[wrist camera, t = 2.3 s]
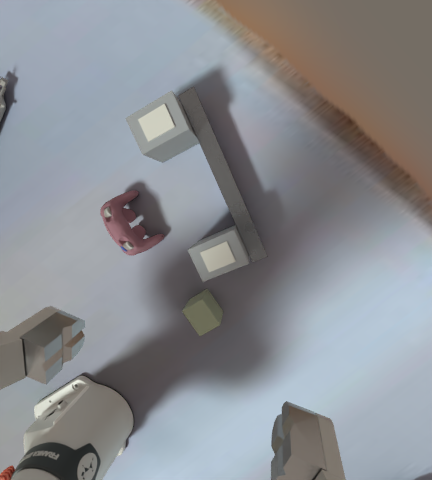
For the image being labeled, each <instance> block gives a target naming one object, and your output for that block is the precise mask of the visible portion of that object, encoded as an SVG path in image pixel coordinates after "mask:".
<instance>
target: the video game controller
mask: <svg viewBox="0 0 432 480" xmlns="http://www.w3.org/2000/svg"><path fill="white" fill-rule="evenodd" d="M138 194H139V192H138V191H136V190H134V191H129V192H126V193H124V194H121V195H119V196H117V197H115V198H113V199H111V200H110V201H108V202H106V203H105V204H104V205H103V206H102V208H101V216H102V217H103V221H104V224H105V226H106V229H107V231H108V232H109V234H110V236H111V237H112V238H113V240H114V241H115V242H116V243H117V244H118V245H119V246H120V247H121V249H122V250H123V252H124V253H126V254H127V255H136V254H138V253H141V252H144V251H146V250H148V249H150V248H152V247H153V246H155V245H156V244H158V243H159V242H161V241H162V240H163V238H164V234H158V235H155V236H152V237H150V238H147V239H143V238H144V236H145V234H146V231H145V229H144V228H143V227H142V226H140V225H136V226H135V227H133V228H132V229H131V227H130V225H129V223H131V222H132V221H134V220H135V219H136V215H135V213H134V211H133V210H131V209H126V208H124V206H125V205H126V204H127V203H128V202H130V201H131V200H133V199H134V198H135V197H137V195H138Z"/></svg>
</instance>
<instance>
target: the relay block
mask: <svg viewBox="0 0 432 480" xmlns="http://www.w3.org/2000/svg"><path fill="white" fill-rule="evenodd" d="M182 312H183V314H184V315H185V316H186V318H187V319H188V321H189V322H190V323H191V325H192V326H193V328H194V329H195V330H196V332H197V333H198V335H199V336H202V335H203V334H205V333H207V332H209V331H210V330H212V329H214V328H216V327H218V326H219V325H220V324H221V320H222V316H223V310H222V309H221V308H220V306H219V305H218V303H217V302H216V300H215V299H214V297H213V296H212V295H211V293H210V292H209V290H208V289H206V290H204V291H202V292H201V293H199V294H198V295H196V296H194V297H193V298H191V299H189V301H188V302H187V304H186V306H185V307H184V309H183V311H182Z"/></svg>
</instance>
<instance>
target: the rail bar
mask: <svg viewBox="0 0 432 480" xmlns="http://www.w3.org/2000/svg"><path fill="white" fill-rule="evenodd" d="M179 98H180V100H181V102H182V105H183V107H184V109H185V111H186V114H187V116H188V118H189V120H190V123H191V125H192V127H193V129H194V132H195V134H196V136H197V138H198V141H199V143H200V145H201V147H202V150H203V152H204V154H205V156H206V159H207V161H208V163H209V165H210V168H211V170H212V172H213V174H214V177H215V179H216V181H217V183H218V186H219V188H220V190H221V193H222V195H223V197H224V199H225V202H226V204H227V206H228V208H229V211H230V213H231V215H232V217H233V220H234V222H235V224H236V226H237V229H238V231H239V233H240V235H241V238H242V240H243V242H244V244H245V247H246V249H247V251H248V253H249V256H250V258H251V260H252V262H255V261H258V260H260V259H263V258H265V257H268V256H267V254H266V252H265V249H264V247H263V245H262V242H261V240H260V238H259V235H258V233H257V231H256V229H255V226H254V224H253V222H252V219H251V217H250V215H249V213H248V210H247V208H246V206H245V203H244V201H243V199H242V196H241V194H240V192H239V190H238V187H237V185H236V183H235V180H234V178H233V176H232V173H231V171H230V169H229V167H228V164H227V162H226V160H225V157H224V155H223V153H222V150H221V148H220V146H219V144H218V141H217V139H216V137H215V134H214V132H213V130H212V128H211V125H210V123H209V121H208V118H207V116H206V114H205V111H204V109H203V107H202V105H201V102H200V100H199V98H198V95H197V93H196V91H195V88H194V87H193V88H191V89H189V90H187V91H186V92H184V93H182V94H181V95H179Z"/></svg>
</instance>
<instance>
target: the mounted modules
mask: <svg viewBox="0 0 432 480" xmlns="http://www.w3.org/2000/svg"><path fill="white" fill-rule="evenodd" d="M126 120H127V123H128V125H129V127H130V129H131V131H132V133H133V135H134V137H135V140H136V142H137V144H138V146H139V148H140V150H141V152H142V154H143V155H145V156H147V157H150V158H152V159H155V160H157V161H160V162H162V163H163V162H165V161H167V160H169V159H171V158H172V157H174V156H176V155H178V154H180V153H182V152H184V151H186V150H187V149H189V148H191V147H193V146H195V145H197V144H199V141H198V138H197V136H196V134H195V132H194V129H193V127H192V125H191V123H190V120H189V118H188V116H187V114H186V111H185V109H184V107H183V105H182V104H181V102H180V101H179V100H178V98H177V97H176V95H175V94H174V93H173V91H170V92H168V93H167V94H165V95H163V96H162V97H160V98H158V99H157V100H155V101H153V102H152V103H150V104H149V105H147V106H145V107H144V108H142V109H140V110H139V111H137V112H135V113H134V114H132V115H130V116H129V117H127V118H126ZM188 252H189V254H190V256H191V258H192V261H193V263H194V265H195V267H196V269H197V271H198V273H199V275H200V277H201V280H202V282H204V281H207V280H209V279H212V278H215V277H217V276H220V275H222V274H225V273H227V272H230V271H232V270H235V269H237V268H240V267H242V266H245V265H247V264H249V253H248V251H247V249H246V247H245V244H244V242H243V240H242V238H241V235H240V233H239V231H238V229H237V226H236V225H234V226H232V227H229V228H227V229H225V230H223V231H220V232H218V233H216V234H213V235H211V236H209V237H207V238H204V239H202V240H200V241H198V242H197V243H196V244H194V245H193V246H192V247H191V248H189V249H188Z"/></svg>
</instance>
